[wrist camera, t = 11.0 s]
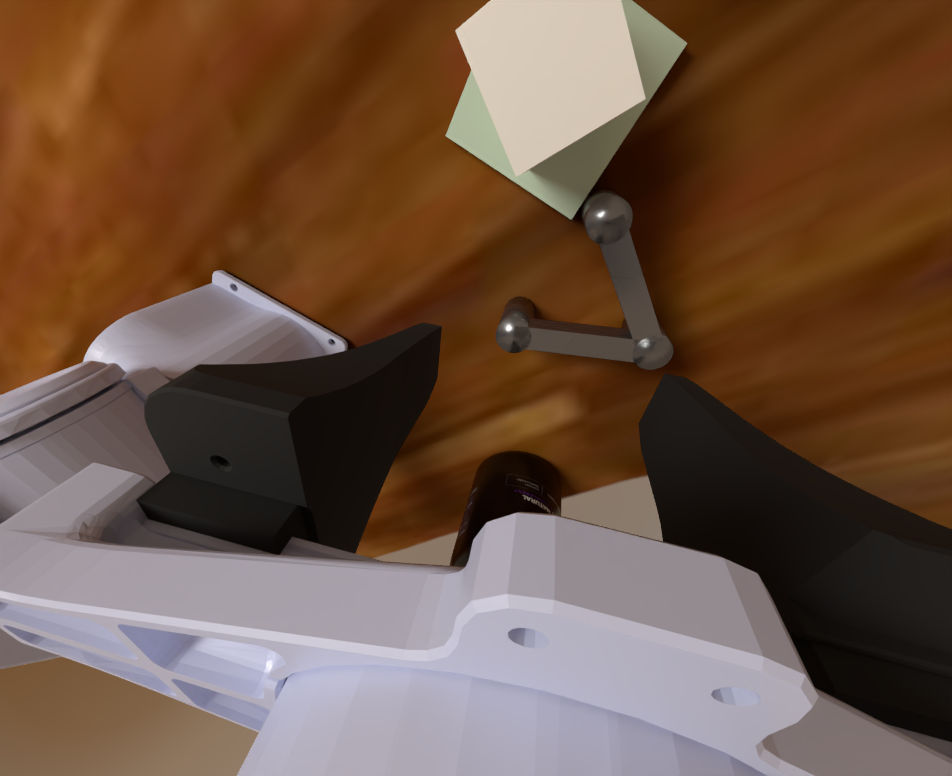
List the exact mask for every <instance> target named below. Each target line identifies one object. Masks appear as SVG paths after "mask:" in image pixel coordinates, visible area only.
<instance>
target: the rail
mask: <svg viewBox="0 0 952 776" xmlns="http://www.w3.org/2000/svg"><path fill="white" fill-rule="evenodd" d="M582 219H583V222H584V225H585V228H586V231H587V233H588V235H589V237H590V238H591V239H592V240H593V241H594V242H596V243H598V244H599V245H600V248H601V251H602V254H603V256H604V259H605V262H606V265H607V268H608V271H609V274H610V276H611V279H612V282H613V285H614V288H615V291H616V293H617V296H618V299H619V302H620V305H621V308H622V311H623V313H624V316H625V319H624V321H623V324H622V328H614V327H605V326H596V325H587V324H578V323H568V322H559V321H550V320H541V319H534V318H535V307H534V305H533V303H532V302H531V301H530V300H529V299H527V298H525V297H515V298H513V299H511V300H510V301H509V302H508V303H507V304H506V306H505V309H504V312H503V315H502V317H501V320H500V323H499V326H498V329H497V331H496V340H497V343H498V345H499V346H500V347H501V348H502V349H503V350H505V351H507V352H511V353H517V352H521V351H523V350H525V349H528V350H537V351H545V352H553V353H561V354H569V355H578V356H586V357H594V358H602V359H610V360H619V361H627V362H634V363H635V364H636V365H637V366H639V367H640V368H643V369H647V370H653V369H657V368H660V367H662V366H664V365H665V364H667V363H668V362H669V361H670V359H671V358H672V355H673V346H672V344H671V342H670V340H669V338H668V337H667V335H666V333H665V332H664V330H663V328H662V326H661V325H660V323H659V321H658V320H657V318H656V315H655V312H654V309H653V305H652V302H651V299H650V296H649V293H648V289H647V286H646V283H645V280H644V276H643V273H642V270H641V267H640V264H639V260H638V257H637V254H636V251H635V247H634V244H633V241H632V238H631V235H630V231H629V229H630V227H631V224H632V219H633V214H632V209H631V207H630V205H629V203H628V202H627V201H626V200H624V199H623V198H622V197H620V196H619V195H617V194H616V193H615V192H613V191H612V190H609V189H599V190H596V191H594V192H593V193H591V194H590V195H589V196H588V197H587V198H586V200H585V201H584V203H583V206H582Z"/></svg>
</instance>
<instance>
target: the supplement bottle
mask: <svg viewBox="0 0 952 776" xmlns="http://www.w3.org/2000/svg"><path fill="white" fill-rule="evenodd" d="M517 512H530V513H543V514H554V515H558V516H561V484H560V480H559V478H558V476H557V474H556V472H555V471H554V470H553V468H552V467H551V466H550V465H549V464H547V463H546V462H545V461H543V460H542V459H540V458H538V457H536V456H534V455H531V454H528V453H524V452H517V451H507V452H501V453H498V454H495V455H492V456H490V457H489V458H487V459H486V460H485V461H483V462H482V464H481V465H480V466H479V468H478V470H477V472H476V475H475V478H474V481H473V484H472V488H471V491H470V495H469V498H468V502H467V505H466V509H465V512H464V515H463V519H462V522H461V526H460V529H459V533H458V536H457V540H456V543H455V547H454V550H453V553H452V557H451V561H450V566H458V567H466V565H467V563H468V561H469V557H470V552H471V548H472V543H473V540H474V538H475V537H476V536H477V534H478V533H479V532H480V530H481V529H482V528H483V527H484V525H485V524H486V523H487V522H489V521H492V520H495V519H498V518H501V517H504V516H508V515H511V514H514V513H517Z"/></svg>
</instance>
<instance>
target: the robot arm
mask: <svg viewBox="0 0 952 776" xmlns="http://www.w3.org/2000/svg"><path fill="white" fill-rule="evenodd" d="M235 285H236V286H237V288H238V289H237V288H236V287H235ZM441 329H442V326H438V325H433V324H428V323H421V324H418V325H415V326H412V327H410V328H408V329H405V330H403V331H400V332H398V333H395V334H393V335H391V336H388V337H386V338H383V339H380V340H377V341H374V342H372V343H369V344H366V345H363V346H360V347H357V348H354V349H350V350H347V348H348V344H347V342H346V340H344V339H343V338H341V337H340V336H338V335H336V334H334V333H332V332H331V331H329V330H327V329H325V328H324V327H322V326H320V325H318V324H317V323H315V322H313V321H311V320H309V319H308V318H306V317H304V316H302V315H301V314H299V313H297V312H295V311H294V310H292V309H290V308H288V307H286V306H285V305H283V304H281V303H279V302H278V301H276V300H274V299H272V298H271V297H269V296H267V295H265V294H263V293H262V292H260V291H258V290H256V289H255V288H253V287H251V286H249V285H248V284H246V283H244V282H242V281H240V280H239V279H237V278H235V277H233V276H232V275H230V274H228V273H226V272H225V271H222V270H218V271H215V272H214V273H213V276H212V283H211V284H208V285H206V286H203V287H200V288H198V289H195V290H192V291H190V292H187V293H184V294H182V295H179V296H176V297H173V298H171V299H168V300H165V301H163V302H160V303H157V304H155V305H152V306H149V307H147V308H144V309H141V310H139V311H136V312H133V313H131V314H129V315H126V316H124V317H123V318H121V319H119V320H117V321H116V322H114V323H113V324H112V325H110V326H109V327H108V328H107V329H105V330H104V331H103V332H102V333H101V334H100V335H99V336H98V337H97V338H96V339H95V340H94V341H93V343H92V344H91V345H90V347H89V349H88V350H87V353H86V355H85V358H84V361H83V363H80V364H77V365H75V366H72V367H69V368H67V369H64V370H61V371H59V372H56V373H54V374H51V375H49V376H46V377H44V378H41V379H39V380H36V381H34V382H31V383H29V384H26V385H24V386H22V387H19V388H17V389H14V390H12V391H10V392H7V393H5V394H2V395H0V669H3V668H8V667H13V666H19V665H24V664H29V663H34V662H39V661H44V660H49V659H54V658H59V657H65V658H68V659H71V660H74V661H77V662H80V663H82V664H85V665H88V666H90V667H93V668H96V669H99V670H102V671H104V672H107V673H109V674H112V675H115V676H117V677H120V678H122V679H125V680H128V681H130V682H133V683H135V684H138V685H141V686H144V687H146V688H149V689H151V690H153V691H156V692H158V693H161V694H163V695H166V696H168V697H171V698H173V699H176V700H179V701H181V702H184V703H186V704H189V705H191V706H194V707H196V708H199V709H201V710H204V711H206V712H209V713H211V714H214V715H216V716H219V717H221V718H224V719H226V720H229V721H231V722H234V723H237V724H239V725H241V726H244V727H246V728H249V729H252V730H254V731H257V732H259V734H258V736H257V738H256V740H255V742H254V744H253V746H252V747H251V749H250V751H249V754H248V755H247V757H246V759H245V761H244V763H243V765H242V767H241V769H240V771H239V773H238V774H237V776H952V529H949V528H947V527H944V526H942V525H939V524H937V523H934V522H932V521H930V520H927V519H925V518H923V517H920V516H918V515H916V514H914V513H911V512H909V511H907V510H905V509H902V508H900V507H898V506H896V505H893V504H891V503H889V502H887V501H885V500H883V499H881V498H878V497H876V496H874V495H872V494H870V493H868V492H866V491H864V490H862V489H860V488H858V487H856V486H854V485H852V484H850V483H848V482H846V481H844V480H842V479H840V478H838V477H836V476H834V475H832V474H831V473H829V472H827V471H825V470H823V469H821V468H820V467H818V466H816V465H814V464H812V463H811V462H809V461H807V460H806V459H804V458H802V457H801V456H799V455H797V454H796V453H794V452H792V451H790V450H789V449H787V448H785V447H784V446H782V445H781V444H779V443H778V442H776V441H775V440H773V439H772V438H770V437H769V436H767V435H766V434H764V433H763V432H761V431H760V430H758V429H757V428H755V427H754V426H752V425H751V424H750V423H748V422H747V421H746V420H744V419H743V418H741V417H740V416H739V415H737V414H736V413H735V412H733V411H732V410H731V409H729V408H728V407H727V406H725V405H724V404H723V403H721V402H720V401H719V400H717V399H716V398H715V397H713V396H712V395H711V394H709V393H708V392H707V391H705V390H704V389H702V388H701V387H700V386H698V385H697V384H695V383H694V382H692V381H690V380H688V379H687V378H684V377H680V376H675V375H670V374H664V376H663V378H662V380H661V382H660V383H659V385H658V387H657V389H656V391H655V393H654V395H653V397H652V399H651V401H650V403H649V405H648V407H647V409H646V411H645V412H644V414H643V416H642V418H641V420H640V422H639V432H640V443H641V450H642V455H643V458H644V462H645V466H646V470H647V474H648V477H649V481H650V484H651V488H652V492H653V495H654V499H655V502H656V506H657V510H658V514H659V519H660V523H661V530H662V537H663V542H662V541H658V540H654V539H650V538H646V537H642V536H638V535H634V534H630V533H625V532H622V531H618V530H614V529H610V528H606V527H602V526H598V525H594V524H590V523H586V522H582V521H578V520H574V519H570V518H566V517H562V516H558V515H554V514H543V513H530V512H517V513H514V514H511V515H508V516H504V517H501V518H498V519H495V520H492V521H489V522H487V523H486V524H485V525H484V527H483V528H482V529H481V530H480V532H479V533H478V534H477V536H476V537H475V538H474V540H473V543H472V548H471V552H470V557H469V561H468V563H467V565H466V567H458V566H443V565H428V564H412V563H396V562H383V561H380V560H376V559H372V558H369V557H365V556H361V555H358V554H355V553H356V550H357V547H358V545H359V542H360V540H361V537H362V535H363V532H364V530H365V527H366V525H367V522H368V520H369V517H370V515H371V512H372V510H373V507H374V505H375V502H376V500H377V498H378V495H379V493H380V491H381V488H382V486H383V484H384V481H385V479H386V477H387V475H388V472H389V470H390V468H391V466H392V463H393V461H394V459H395V457H396V455H397V453H398V451H399V449H400V448H401V446H402V444H403V442H404V441H405V439H406V437H407V436H408V434H409V432H410V431H411V429H412V427H413V426H414V424H415V422H416V421H417V419H418V417H419V416H420V414H421V412H422V411H423V409H424V407H425V405H426V404H427V402H428V400H429V398H430V395H431V393H432V390H433V388H434V385H435V383H436V380H437V375H438V364H439V352H440V340H441ZM331 339H333V340H334V341H335V343H333V342H332V340H331Z"/></svg>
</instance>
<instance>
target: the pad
mask: <svg viewBox="0 0 952 776" xmlns="http://www.w3.org/2000/svg"><path fill="white" fill-rule="evenodd" d="M621 2H622V6H623V10H624V14H625V18H626V22H627V26H628V30H629V34H630V38H631V42H632V46H633V50H634V54H635V58H636V62H637V66H638V70H639V74H640V78H641V82H642V86H643V90H644V94H645V98H646V99H645V100H643V101H642V102H640V103H638V104H637V105H635V106H634V107H632V108H631V109H629V110H628V111H626V112H624V113H623V114H621V115H620V116H618V117H617V118H615V119H613V120H612V121H610V122H608V123H607V124H605V125H603V126H602V127H600V128H598V129H597V130H595V131H593V132H592V133H590V134H588V135H587V136H585V137H583V138H582V139H580V140H578V141H577V142H575V143H573V144H572V145H570V146H568V147H567V148H565V149H563V150H562V151H560V152H558V153H557V154H555V155H553V156H552V157H550V158H548V159H547V160H545V161H543V162H542V163H540V164H538V165H537V166H535V167H533V168H532V169H530V170H528V171H526V172H525V173H523V174H521V175H519V176H517V177H516V176H515V174H514V171H513V169H512V166H511V164H510V162H509V159H508V157H507V154H506V152H505V150H504V147H503V145H502V142H501V140H500V137H499V135H498V133H497V130H496V128H495V125H494V123H493V121H492V118H491V116H490V113H489V111H488V108H487V106H486V104H485V101H484V99H483V96H482V94H481V92H480V89H479V87H478V84H477V82H476V80H475V77H474V75H473V72H472V70H471V72H470V75H469V78H468V80H467V83H466V85H465V88H464V90H463V93H462V95H461V98H460V100H459V103H458V106H457V108H456V111H455V113H454V116H453V118H452V121H451V123H450V126H449V128H448V131H447V134H446V137H448V138H449V139H451V140H452V141H454V142H455V143H457V144H458V145H460V146H461V147H463V148H464V149H466V150H467V151H469V152H470V153H472V154H473V155H475V156H476V157H478V158H479V159H481V160H482V161H484V162H485V163H487V164H488V165H490V166H491V167H493V168H494V169H496V170H497V171H499V172H500V173H502V174H503V175H505V176H506V177H508V178H509V179H511V180H512V181H514V182H515V183H517V184H518V185H520V186H521V187H523V188H524V189H526V190H527V191H529V192H530V193H532V194H533V195H535V196H536V197H538V198H539V199H541V200H542V201H544V202H545V203H547V204H548V205H550V206H551V207H553V208H554V209H556V210H557V211H559V212H560V213H562V214H563V215H565V216H566V217H568V218H569V219H571V220H572V218H573V217H574V215H575V214H576V212H577V210H578V209H579V207H580V206H581V204H582V203H583V201H584V200H585V198H586V197H587V195H588V194H589V192H590V191H591V189H592V188H593V186H594V185H595V183H596V182H597V180H598V179H599V177H600V175H601V174H602V172H603V171H604V169H605V168H606V166H607V165H608V163H609V162H610V160H611V159H612V157H613V156H614V154H615V153H616V151H617V150H618V148H619V147H620V145H621V144H622V142H623V140H624V139H625V137H626V136H627V134H628V133H629V131H630V130H631V128H632V127H633V125H634V124H635V122H636V121H637V119H638V118H639V116H640V115H641V113H642V112H643V110H644V109H645V107H646V105H647V104H648V102H649V101H650V99H651V98H652V96H653V95H654V93H655V92H656V90H657V89H658V87H659V86H660V84H661V83H662V81H663V80H664V78H665V77H666V75H667V74H668V72H669V70H670V69H671V67H672V66H673V64H674V63H675V61H676V60H677V58H678V57H679V55H680V54H681V52H682V51H683V49H684V48H685V46H686V45H687V43H686V42H685V41H684V40H682V39H681V38H680V37H679V36H677V35H676V34H675V33H673V32H672V31H671V30H670V29H668V28H667V27H666V26H664V25H663V24H662V23H661V22H659V21H658V20H657V19H655V18H654V17H653V16H652V15H650V14H649V13H648V12H646V11H645V10H644V9H643V8H641V7H640V6H639V5H637V4H636V3H635V2H634V1H632V0H621Z"/></svg>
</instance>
